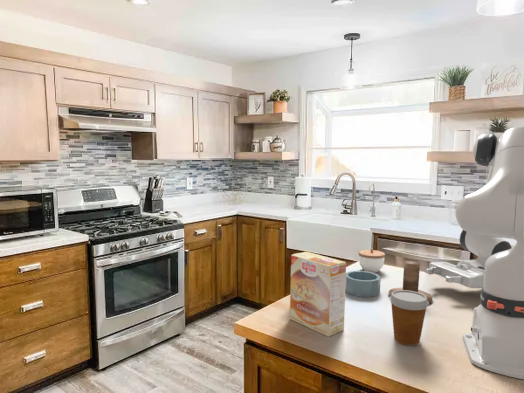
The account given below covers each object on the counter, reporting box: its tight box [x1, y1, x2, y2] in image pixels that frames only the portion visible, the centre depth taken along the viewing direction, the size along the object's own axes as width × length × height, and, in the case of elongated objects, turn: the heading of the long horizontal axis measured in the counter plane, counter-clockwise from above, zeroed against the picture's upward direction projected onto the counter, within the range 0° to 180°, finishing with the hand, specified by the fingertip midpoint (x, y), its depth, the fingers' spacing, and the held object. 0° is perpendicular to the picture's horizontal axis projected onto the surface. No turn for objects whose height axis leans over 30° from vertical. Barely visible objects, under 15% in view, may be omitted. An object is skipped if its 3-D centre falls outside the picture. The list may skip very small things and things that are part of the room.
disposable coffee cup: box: [389, 290, 430, 346], centre depth 101 cm, size 10×10×12 cm
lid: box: [388, 260, 433, 305], centre depth 132 cm, size 14×14×12 cm
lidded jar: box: [358, 248, 386, 274], centre depth 163 cm, size 11×11×9 cm
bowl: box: [345, 270, 382, 298], centre depth 138 cm, size 12×12×6 cm
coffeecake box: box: [289, 251, 347, 337], centre depth 109 cm, size 15×7×20 cm, turn 40°
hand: (436, 275), depth 134 cm, fingers open, 8 cm apart
